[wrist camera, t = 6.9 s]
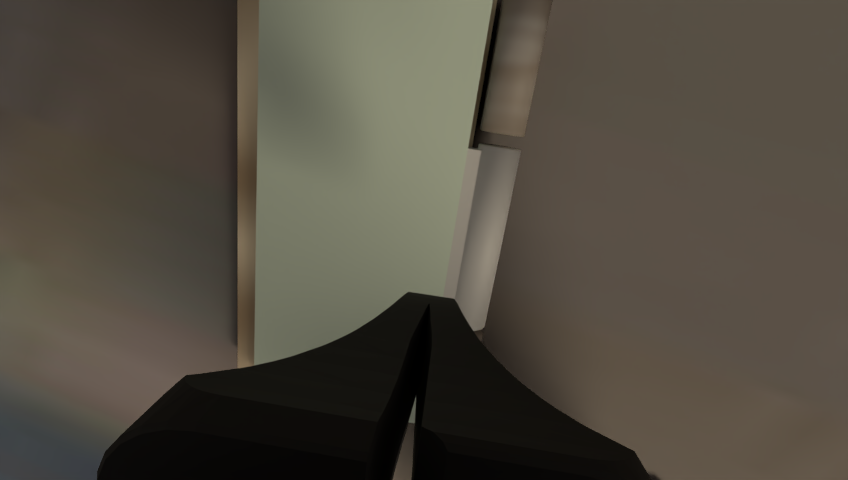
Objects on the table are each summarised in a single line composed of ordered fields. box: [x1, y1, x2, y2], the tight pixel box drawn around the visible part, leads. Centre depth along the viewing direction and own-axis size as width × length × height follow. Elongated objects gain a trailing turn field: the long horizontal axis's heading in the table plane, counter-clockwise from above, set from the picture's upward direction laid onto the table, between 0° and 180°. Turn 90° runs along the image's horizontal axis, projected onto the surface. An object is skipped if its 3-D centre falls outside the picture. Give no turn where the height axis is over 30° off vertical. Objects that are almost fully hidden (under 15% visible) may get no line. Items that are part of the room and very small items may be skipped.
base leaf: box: [237, 0, 552, 368], centre depth 17 cm, size 18×11×3 cm, turn 172°
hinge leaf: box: [254, 0, 521, 423], centre depth 17 cm, size 18×10×2 cm, turn 172°
